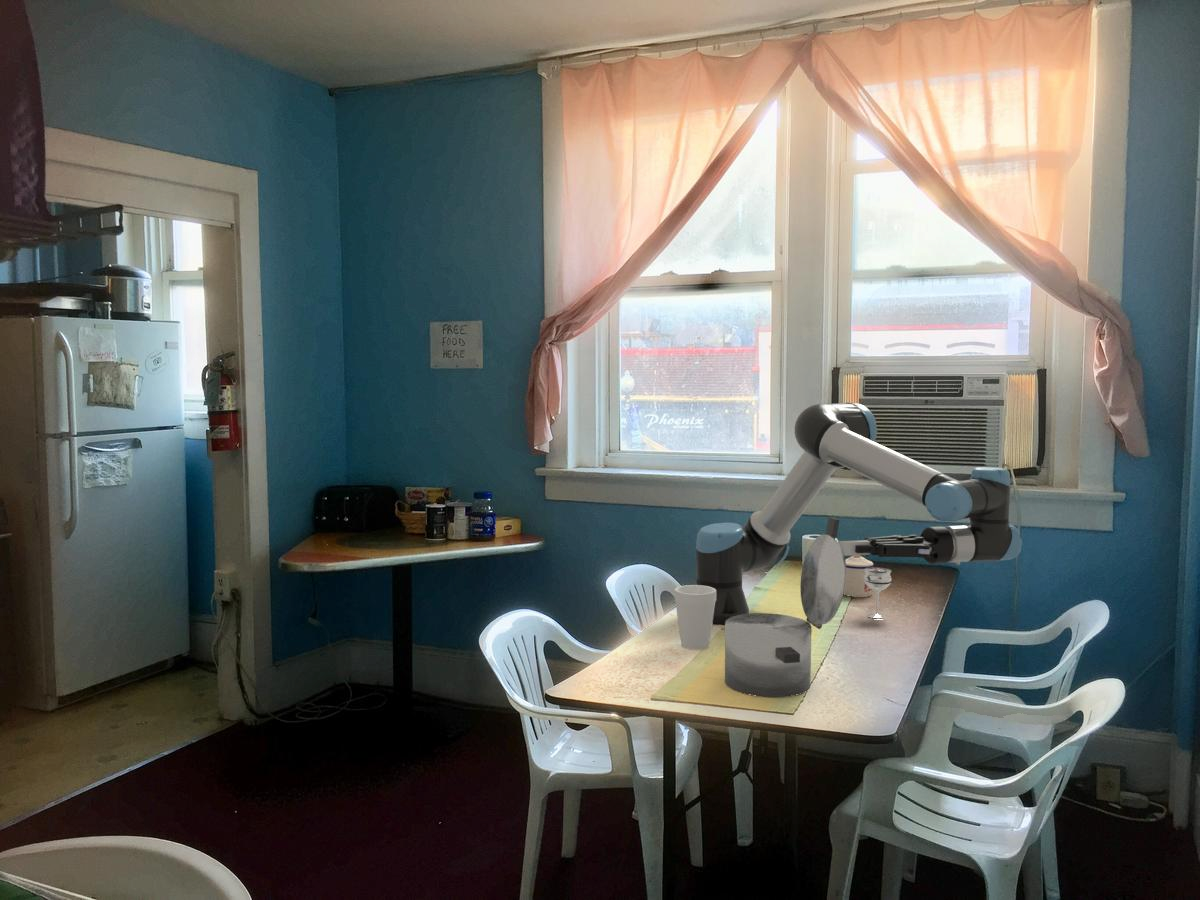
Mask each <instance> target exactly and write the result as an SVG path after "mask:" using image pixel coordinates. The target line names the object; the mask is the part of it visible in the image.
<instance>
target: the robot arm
mask: <svg viewBox="0 0 1200 900" xmlns="http://www.w3.org/2000/svg"><path fill="white" fill-rule="evenodd" d="M877 433H878V428H877V421H876V418H875V416H874V414H873V412H872V411H871V410H870V409H869V408H868V407H866V406H865V405H863V404H861V403H853V402H850V401H849V402H843V403H842V402H841V403H840V402H839V403H819V404H818V403H817V404H814V405H811V406H809V407H806V408H805V409H804V410H802V412H801V413H800V414H799V415H798V417H797V419H796V421H795V425H794V437H795V439H796V442H797V444H798V445H799V447H800V448H801V449H802V450H803V451H804V452H803V453H802V455H800V457H799V458H798V460H797V461H796V463H795V464H794V466H793V467H792V468H791V470H790V471H789V473H788V474H787V476H786V477H785V478H784V479H783V480H782V482H781V483H780V485H779V486H778V488H777V489H776V490H775V492H774V494H772V497H771V498H770V499H769V500H768V502H767V503H766V505H765V506H764V507H763V509H762V510H758V511H754V512H753V513H752V514H751V515H750V517H749V518H748V519H747V521H746V522H745V523H744V525H743V526H742V525H740V524H739V523H736V522H721V523H720V522H719V523H717V522H715V523H711V524H707V525H705V526H702V527H701V528H700V529H699V530H697V531H698V532H697V533H696V543H695V549H696V550H695V551H696V556H695V563H696V564H695V566H696V567H695V568H696V570H695V571H696V580H695V581H696V582H695V583H696V584H695V585H702V586H709V587H712V588H715V589H716V601H715V608H714V615H713V622H712V625H713V624H716V625H725V622H726V620H727V619H729V618H731V617H733V616H737V615H742V614H750V613H749V611H750V609H749V605H748V602H747V599H746V595H745V593H744V588H743V573H746V572H751V571H757V570H763V569H770V568H772V567H774V566H777V565H779V564H781V563H782V562H783V561H784V560H785V559H787V556H788V554H789V551H790V546H789V544H790V541H791V536H792V535H791V532H790V531H791V529H792V528H793V527H794V525H795V524H796V522H797V521H798V520H799V518H801V516H802V515H803V514H804V512H805V511H806V509H808V507H809V505H811V503H812V502H813V500H814V499H815V497H816V496H817V495H818V493H819V492H820V491H821V489H822V488H823V486H824V485H826V483H827V482H828V480H829V479H830V477H831V476H832V475H833V473H834V472H835V471H836V470H837V469H842V468H847V469H849V470H851V471H853V472H855V473H857V474H860V475H861V476H863V477H865V478H867V479H869V480H871V481H873V482H875V483H877V484H879V485H882V486H884V487H886V488H887V489H889V490H892V491H893V492H895V493H898V494H900V495H902V496H904V497H906V498H907V499H909V500H912V501H913V502H916V503H917V504H920V505H922V506H924V507H925V508H926V510H927V512H928V513H929V515H930V516H931V517H932V518H934V519H935V520H937V521H940V522H957V521H961V520H964V519H965V520H966V519H969V525H964V524H963V525H945V526H927V527H925V528H924V529H923V530H922V532H921V534H920V536H918V535H917V534H908V535H902V534H898V533H897V534H893V535H884V536H875V537H874V536H873V537H865V538H864V539H862V540H861V539H860V540H839V542H840V543H841V545H842V548H843V551H844V555H845V557H846V556H847V557H848V556H850V557H852V556H853V555H861V556H866V557H870V555H871V556H878V558H923V559H924V560H925V562H927V563H928V564H931V565H932V564H946V563H949V564H950V563H955V566H960V565H961V563H971V562H972V563H973V562H974V563H976V562H1001V561H1009V560H1013V559H1015V558H1017V557H1018V556H1019V554H1020V553H1021V551H1022V550H1021V549H1022V546H1023V540H1022V538H1021V533H1020V531H1019V529H1018V528H1017V527H1016V526H1015V525H1013V524H1010V521H1009V518H1010V507H1011V505H1010V504H1011V502H1010V500H1011V490H1012V486H1011V473H1010V471H1009V470H1008V469H1006V468H1003V467H994V466H993V467H992V466H991V467H990V466H978V467H974V468H973V469H972V470H971V474H970V477H969V479H966V480H958V479H956V478H953V477H952V476H949V475H947V474H944V473H942V472H940V471H939V470H936V469H935V468H932V467H931V466H928V465H926V464H923V463H921V462H919V461H918V460H917V461H916V460H915V459H912V458H910V457H908V456H906V455H904V454H902V453H899V452H897V451H895V450H892V449H890V448H889V447H886V446H884V445H882V444H879V443H878V442H875V441H876V439H877V436H878V435H877Z"/></svg>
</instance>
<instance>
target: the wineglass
mask: <svg viewBox="0 0 1200 900" xmlns="http://www.w3.org/2000/svg"><path fill="white" fill-rule="evenodd" d="M864 570H865V572H866V573H865V575H864V581H865V584H866V585H867V586H868V587H869V588H871V589H872V591H873V592H874V593H875V613H870V614H867V615H868V616H870V617H873V618H884V617H885V616H886V615H884V614H881V613H879V612H878V611H879V596H880V593H881V591H883V590H886V589H887V588H888V587H889V586H890V585H891V584H892V576H891V573H892V570H891V569H889V568H884V567H883V568H882V567H873V568H866V569H864Z"/></svg>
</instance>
